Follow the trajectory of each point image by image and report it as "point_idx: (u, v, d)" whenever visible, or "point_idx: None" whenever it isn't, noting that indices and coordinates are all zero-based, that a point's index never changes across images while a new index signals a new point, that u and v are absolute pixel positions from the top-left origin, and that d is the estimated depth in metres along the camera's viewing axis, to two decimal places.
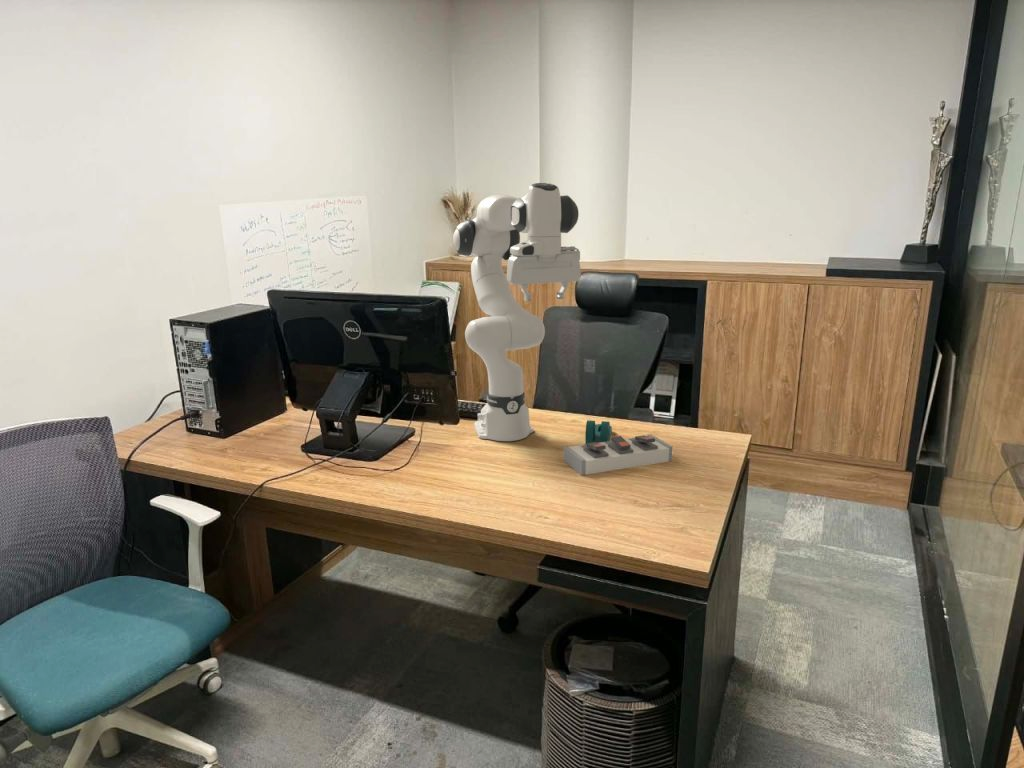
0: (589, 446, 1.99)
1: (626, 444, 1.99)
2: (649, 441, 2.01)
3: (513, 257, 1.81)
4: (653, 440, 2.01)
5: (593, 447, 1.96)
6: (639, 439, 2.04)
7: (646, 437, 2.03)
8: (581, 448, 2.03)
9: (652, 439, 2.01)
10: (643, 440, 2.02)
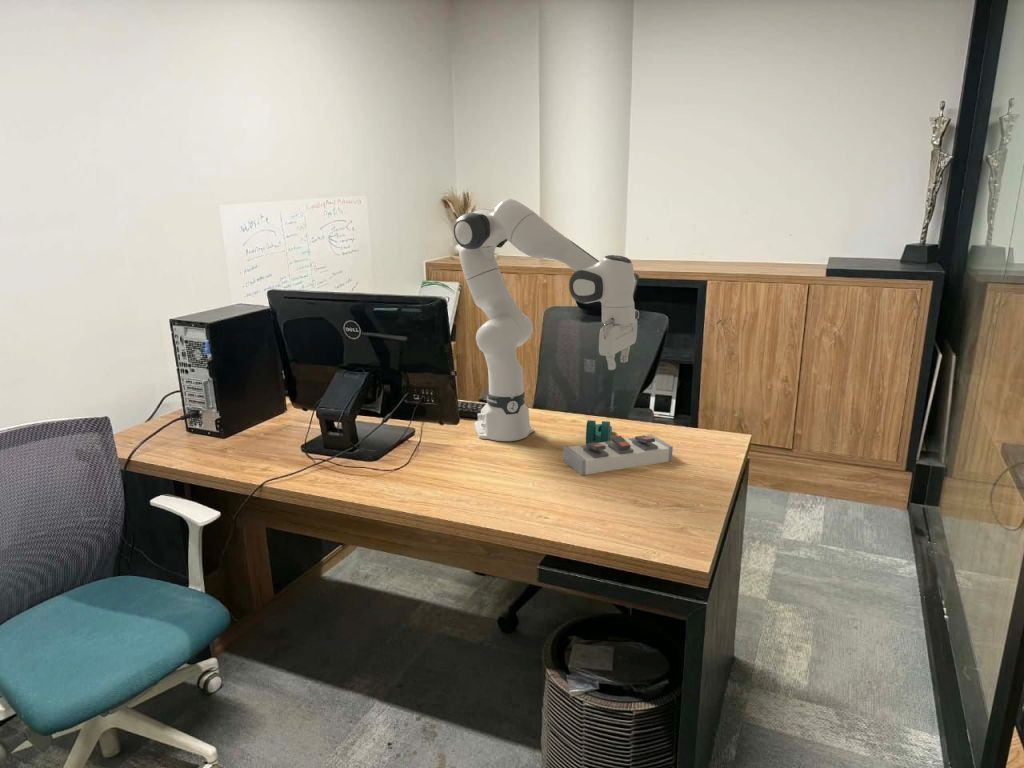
0: (589, 446, 1.99)
1: (626, 444, 1.99)
2: (649, 441, 2.01)
3: None
4: (653, 440, 2.01)
5: (593, 447, 1.96)
6: (639, 439, 2.04)
7: (646, 437, 2.03)
8: (581, 448, 2.03)
9: (652, 439, 2.01)
10: (643, 440, 2.02)
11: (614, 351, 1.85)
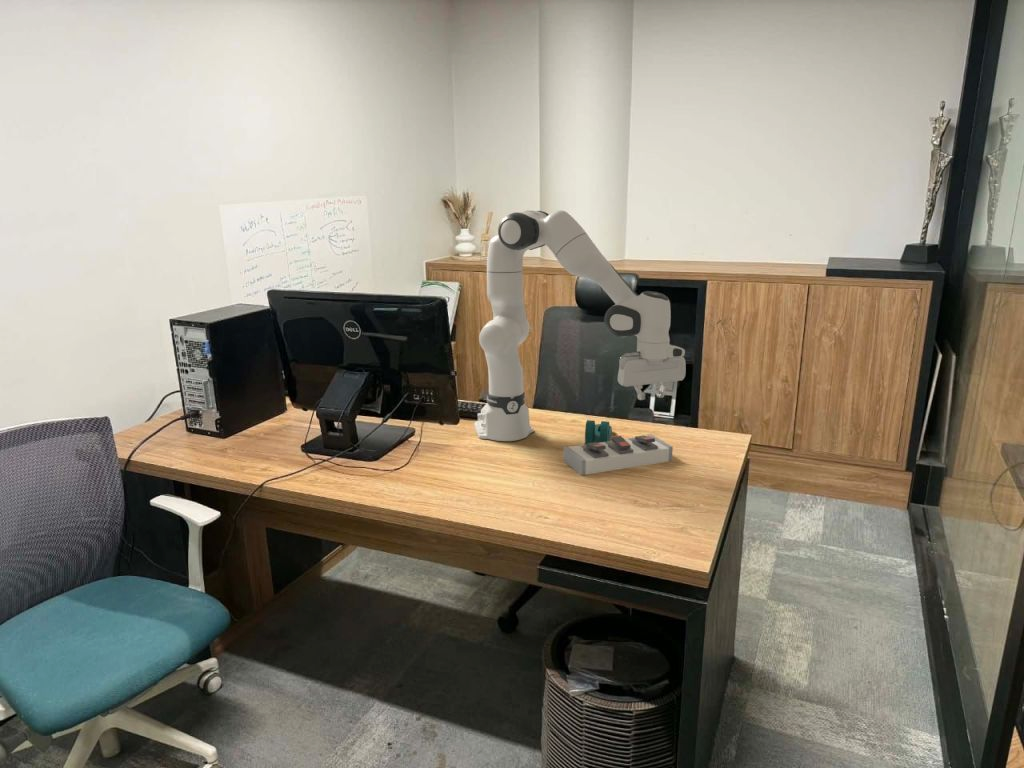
0: (589, 446, 1.99)
1: (626, 444, 1.99)
2: (649, 441, 2.01)
3: None
4: (653, 440, 2.01)
5: (593, 447, 1.96)
6: (639, 439, 2.04)
7: (646, 437, 2.03)
8: (581, 448, 2.03)
9: (652, 439, 2.01)
10: (643, 440, 2.02)
11: (631, 383, 1.93)
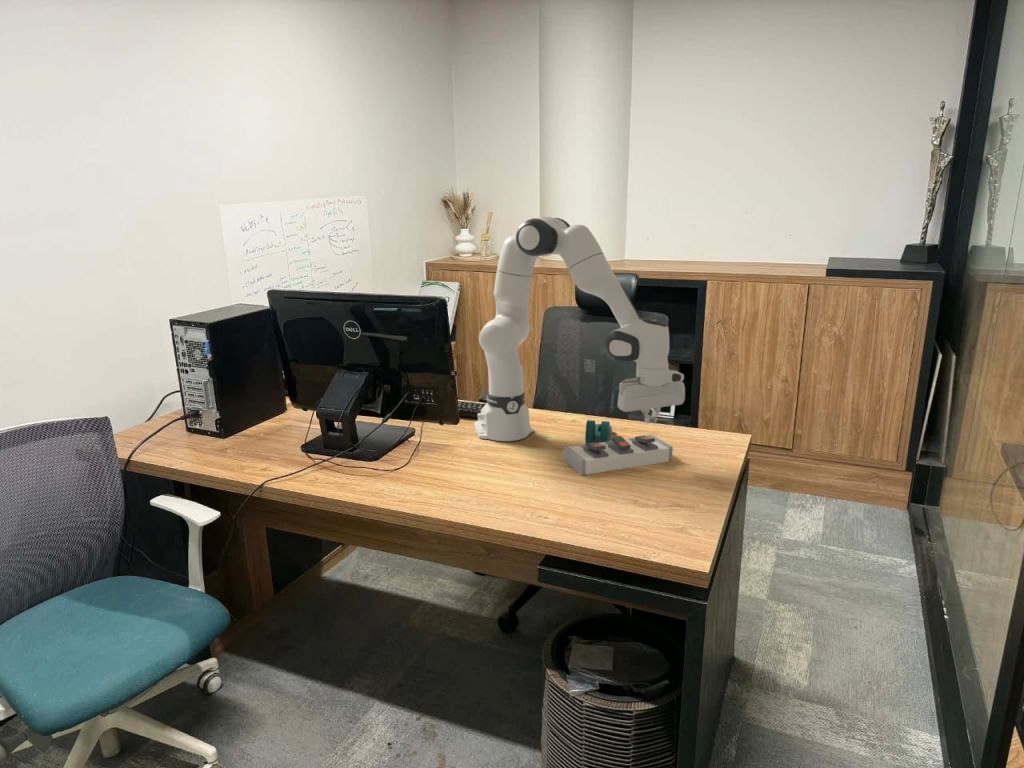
0: (589, 446, 1.99)
1: (626, 444, 1.99)
2: (649, 441, 2.01)
3: None
4: (653, 440, 2.01)
5: (593, 447, 1.96)
6: (639, 439, 2.04)
7: (646, 437, 2.03)
8: (581, 448, 2.03)
9: (652, 439, 2.01)
10: (643, 440, 2.02)
11: (631, 408, 1.94)
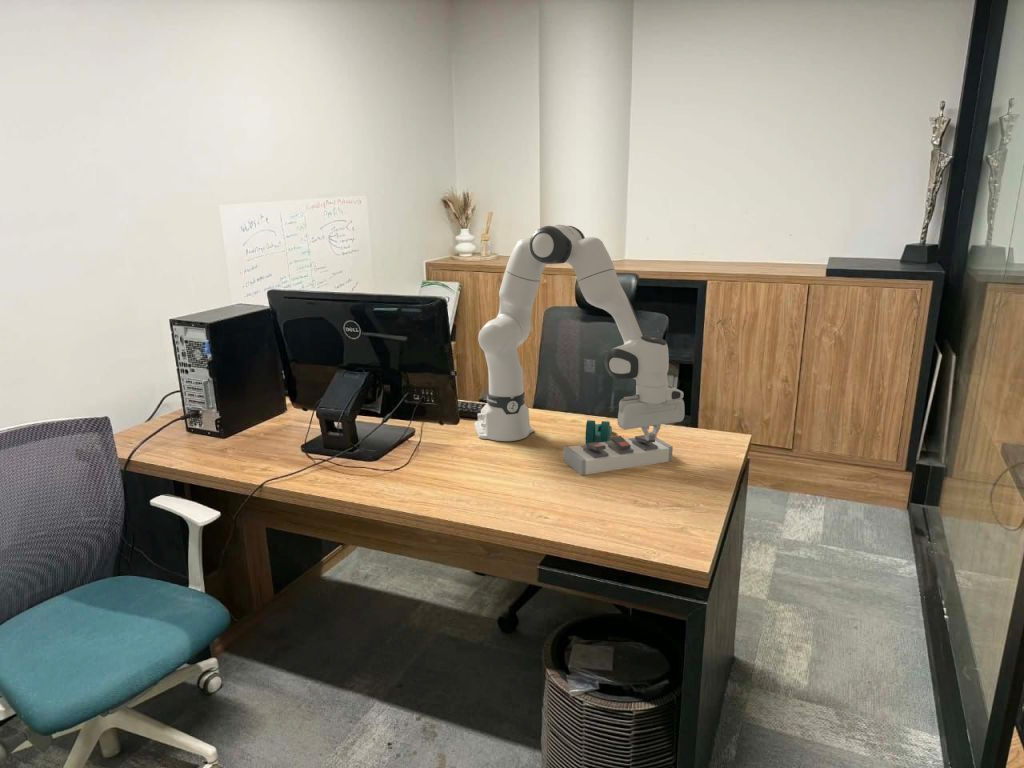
0: (589, 446, 1.99)
1: (626, 444, 1.99)
2: (649, 441, 2.01)
3: None
4: (653, 441, 2.01)
5: (593, 447, 1.96)
6: (639, 439, 2.04)
7: None
8: (581, 448, 2.03)
9: None
10: (643, 440, 2.02)
11: (631, 426, 1.95)
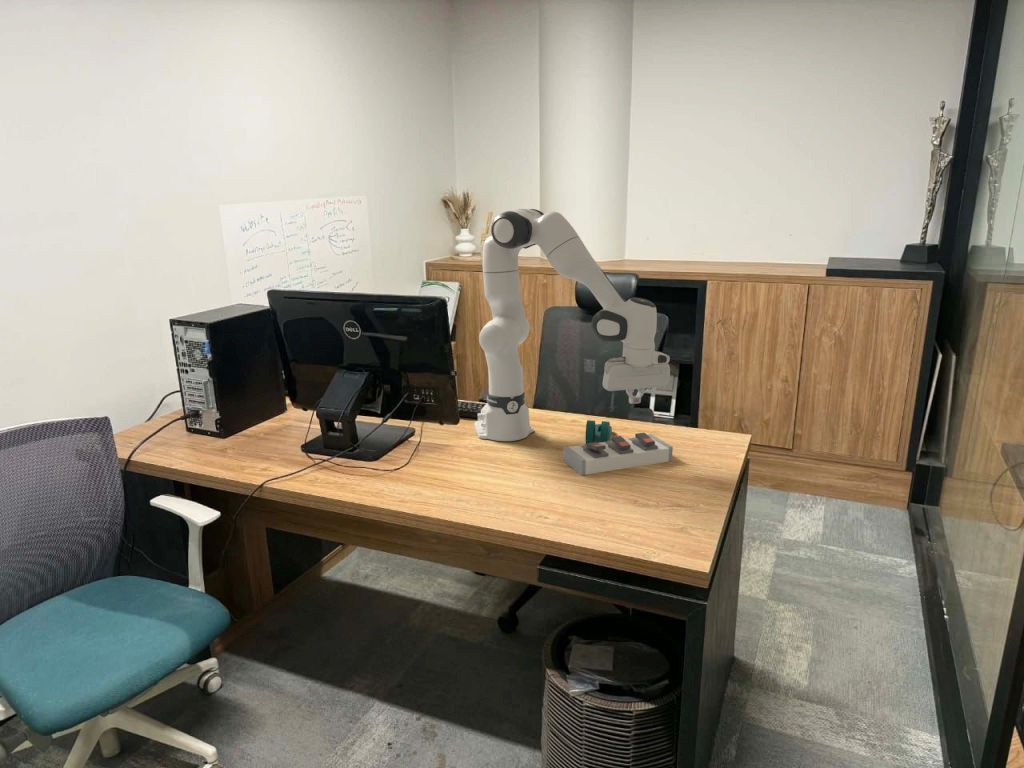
0: (589, 446, 1.99)
1: (626, 444, 1.99)
2: (649, 444, 2.01)
3: None
4: (653, 443, 2.01)
5: (593, 447, 1.96)
6: (639, 438, 2.04)
7: (646, 437, 2.03)
8: (581, 448, 2.03)
9: (652, 442, 2.01)
10: (643, 442, 2.02)
11: (615, 387, 1.95)
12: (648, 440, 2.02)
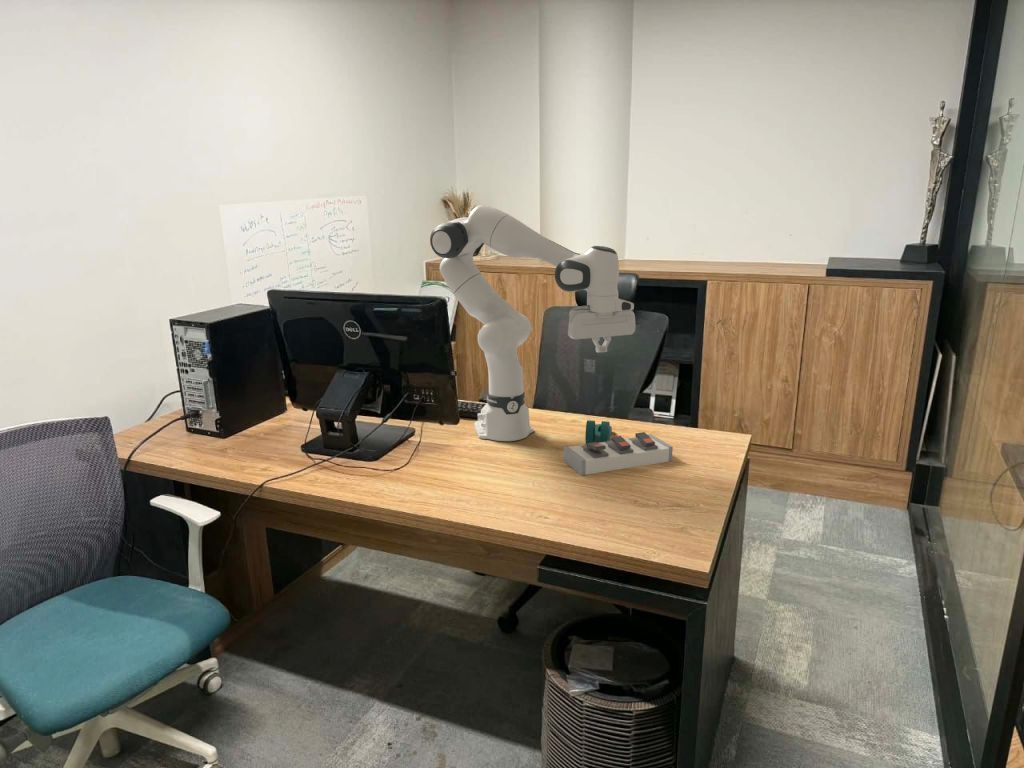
0: (589, 446, 1.99)
1: (626, 444, 1.99)
2: (649, 444, 2.01)
3: None
4: (653, 444, 2.02)
5: (593, 447, 1.96)
6: (639, 438, 2.04)
7: (646, 438, 2.03)
8: (581, 448, 2.03)
9: (652, 443, 2.01)
10: (643, 442, 2.02)
11: (580, 336, 1.97)
12: (648, 440, 2.02)
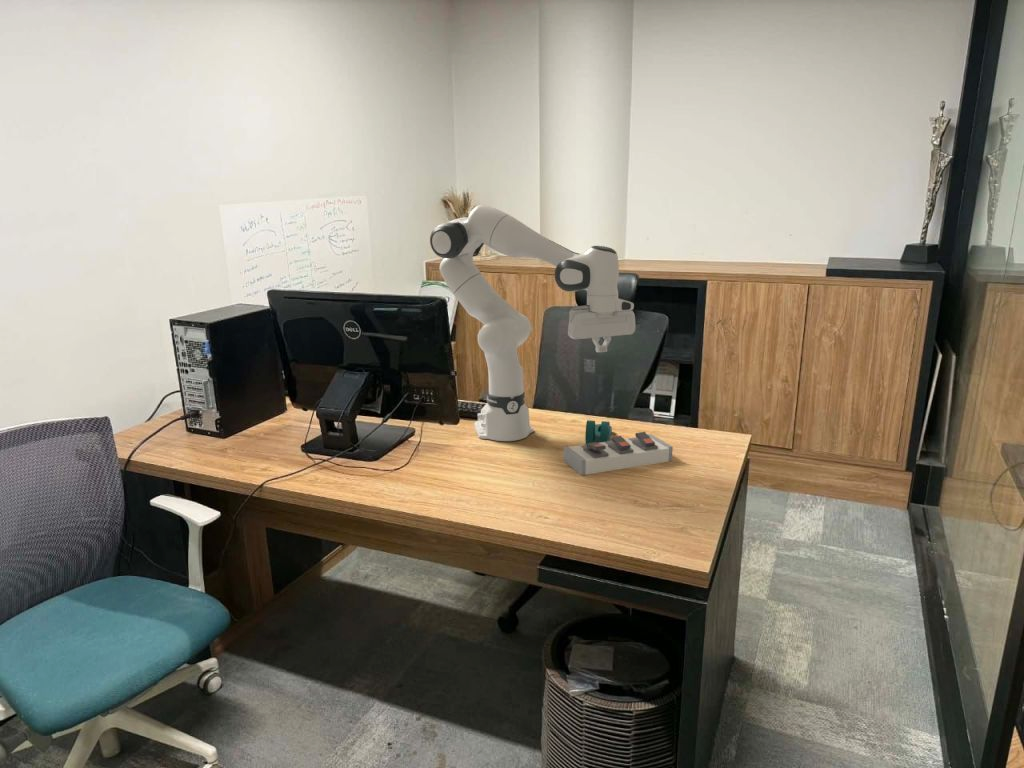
0: (589, 446, 1.99)
1: (626, 444, 1.99)
2: (649, 445, 2.01)
3: None
4: (653, 444, 2.02)
5: (593, 447, 1.96)
6: (639, 438, 2.04)
7: (646, 438, 2.03)
8: (581, 448, 2.03)
9: (652, 443, 2.01)
10: (643, 442, 2.02)
11: (580, 335, 1.97)
12: (648, 441, 2.02)
